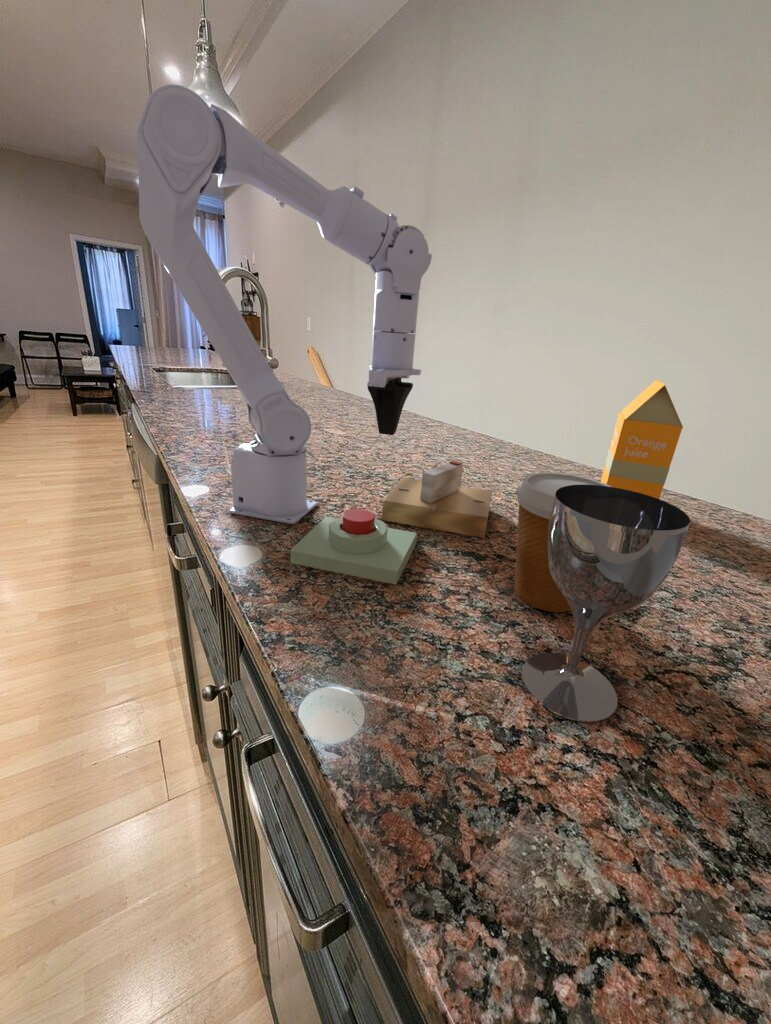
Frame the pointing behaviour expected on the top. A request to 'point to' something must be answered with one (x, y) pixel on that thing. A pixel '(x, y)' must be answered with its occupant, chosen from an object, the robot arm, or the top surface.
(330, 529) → the button block
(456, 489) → the grey rectangular block
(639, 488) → the orange juice
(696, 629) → the top surface
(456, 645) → the top surface
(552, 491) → the disposable coffee cup
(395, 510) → the wooden base
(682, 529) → the wine glass
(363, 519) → the button
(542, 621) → the top surface
